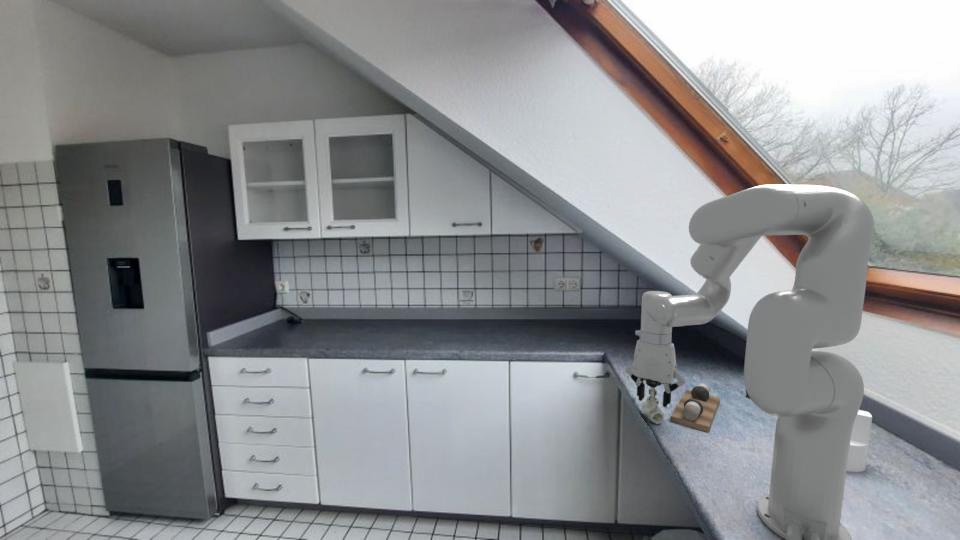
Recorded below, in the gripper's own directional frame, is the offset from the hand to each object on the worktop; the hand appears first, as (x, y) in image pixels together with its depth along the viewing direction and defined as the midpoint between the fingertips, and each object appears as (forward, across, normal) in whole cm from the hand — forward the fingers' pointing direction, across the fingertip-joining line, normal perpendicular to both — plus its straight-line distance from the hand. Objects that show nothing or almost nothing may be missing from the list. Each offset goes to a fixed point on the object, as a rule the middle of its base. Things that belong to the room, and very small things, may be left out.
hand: (653, 401), depth 103 cm
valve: (+5, 0, 0) cm, 5 cm away
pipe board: (+5, +8, +12) cm, 16 cm away
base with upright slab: (+6, +38, +7) cm, 39 cm away
